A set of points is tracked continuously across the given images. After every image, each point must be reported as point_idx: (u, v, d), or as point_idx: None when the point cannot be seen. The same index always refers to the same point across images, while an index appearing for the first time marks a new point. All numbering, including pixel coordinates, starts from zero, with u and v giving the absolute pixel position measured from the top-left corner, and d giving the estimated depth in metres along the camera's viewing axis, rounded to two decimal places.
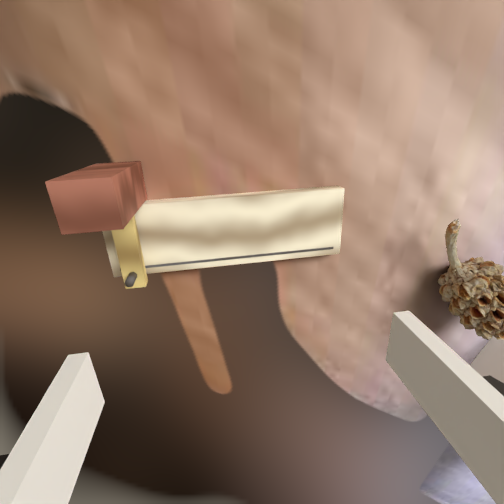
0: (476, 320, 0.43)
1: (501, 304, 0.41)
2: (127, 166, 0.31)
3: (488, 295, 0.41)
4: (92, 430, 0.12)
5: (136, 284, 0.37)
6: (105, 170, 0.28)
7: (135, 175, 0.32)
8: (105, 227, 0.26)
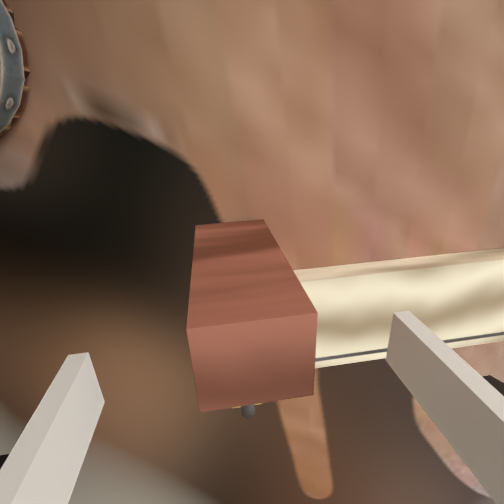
0: None
1: None
2: (271, 244, 0.18)
3: None
4: (92, 430, 0.12)
5: None
6: (252, 262, 0.16)
7: None
8: (282, 394, 0.13)
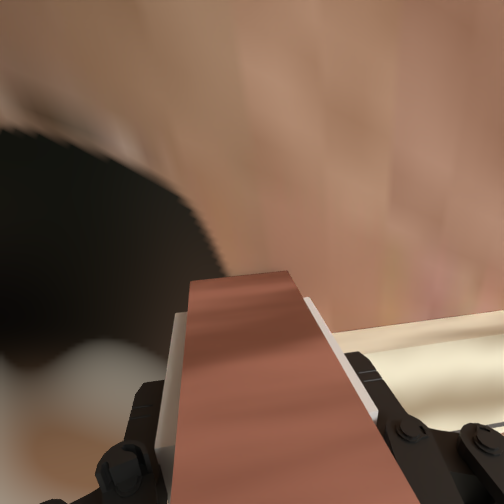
0: None
1: None
2: (310, 329, 0.11)
3: None
4: None
5: None
6: (286, 381, 0.09)
7: None
8: None
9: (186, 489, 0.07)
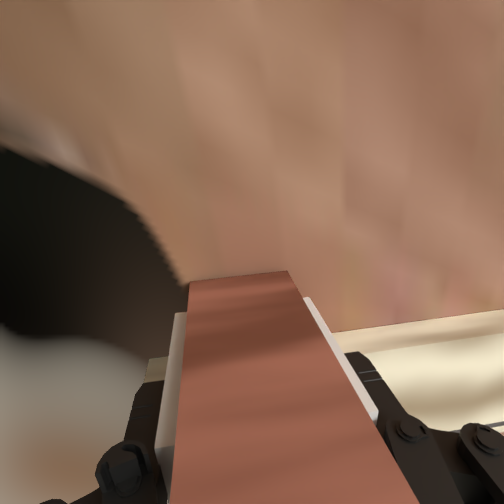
0: None
1: None
2: (310, 329, 0.11)
3: None
4: None
5: None
6: (285, 381, 0.09)
7: None
8: None
9: (185, 490, 0.07)
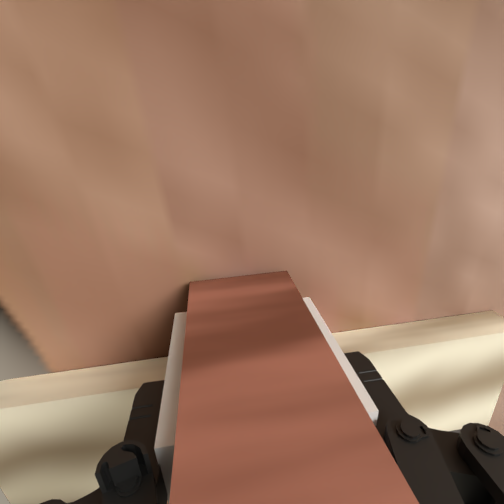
0: None
1: None
2: (310, 329, 0.11)
3: None
4: None
5: None
6: (285, 381, 0.09)
7: None
8: None
9: (185, 490, 0.07)
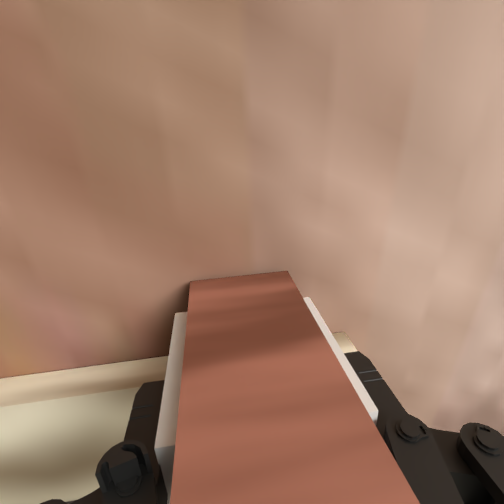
0: None
1: None
2: (310, 329, 0.11)
3: None
4: None
5: None
6: (285, 381, 0.09)
7: None
8: None
9: (186, 489, 0.07)
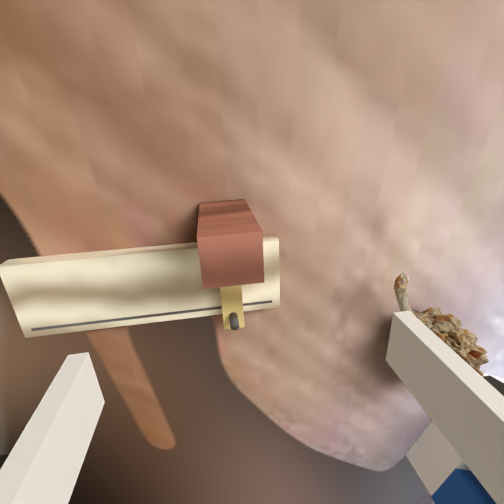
0: None
1: None
2: (246, 209, 0.30)
3: None
4: (92, 430, 0.12)
5: None
6: (233, 216, 0.27)
7: None
8: (247, 281, 0.25)
9: (201, 227, 0.25)
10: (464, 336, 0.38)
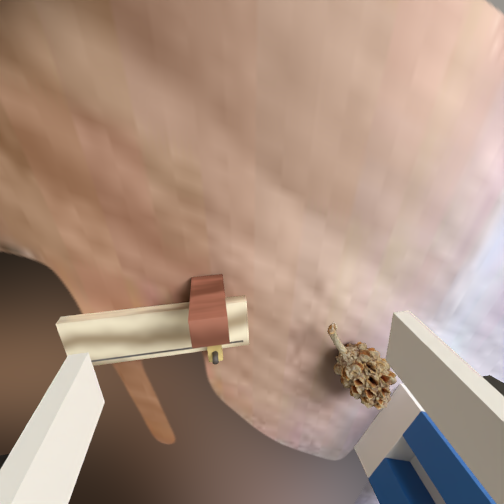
0: (357, 394, 0.55)
1: (371, 385, 0.53)
2: (221, 289, 0.45)
3: (361, 378, 0.53)
4: (92, 430, 0.12)
5: None
6: (211, 297, 0.43)
7: None
8: (219, 343, 0.40)
9: (191, 310, 0.41)
10: (379, 364, 0.54)
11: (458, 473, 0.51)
